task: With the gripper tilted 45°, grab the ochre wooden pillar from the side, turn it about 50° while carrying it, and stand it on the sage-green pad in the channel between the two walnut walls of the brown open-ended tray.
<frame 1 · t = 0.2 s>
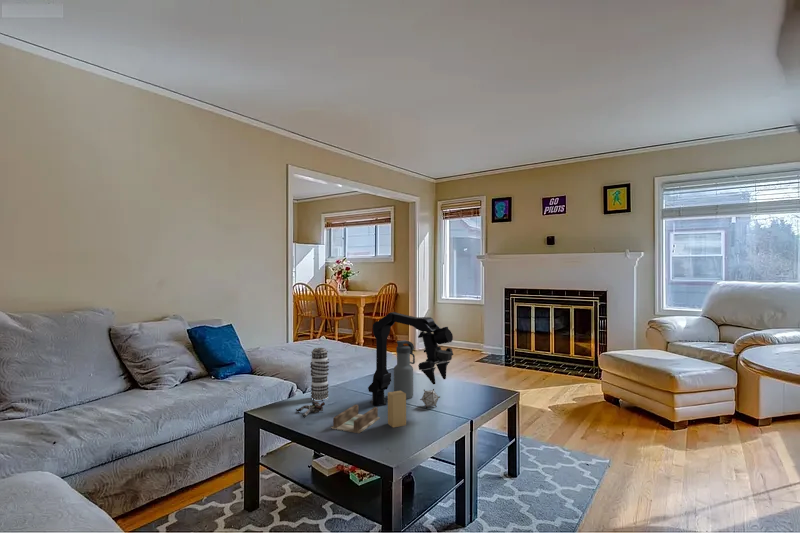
hand: (439, 381, 187), 15 cm above the table, tool pointing down, fingers open, 9 cm apart
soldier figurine: (310, 415, 193), on the table
water bottle: (404, 396, 218), on the table
game die: (430, 407, 201), on the table
brown open-ended tray: (356, 423, 180), on the table
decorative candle: (319, 399, 215), on the table
pillar: (396, 424, 179), on the table
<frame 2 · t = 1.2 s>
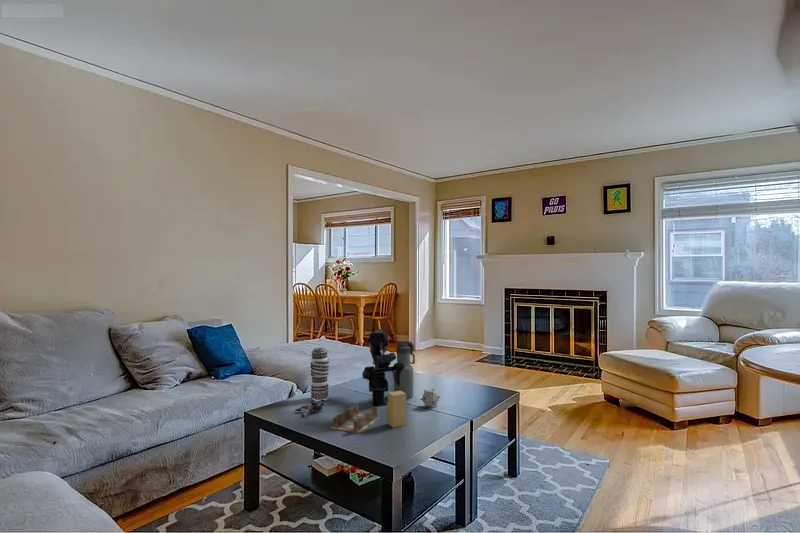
hand: (389, 387, 187), 13 cm above the table, tool tilted 45°, fingers open, 9 cm apart
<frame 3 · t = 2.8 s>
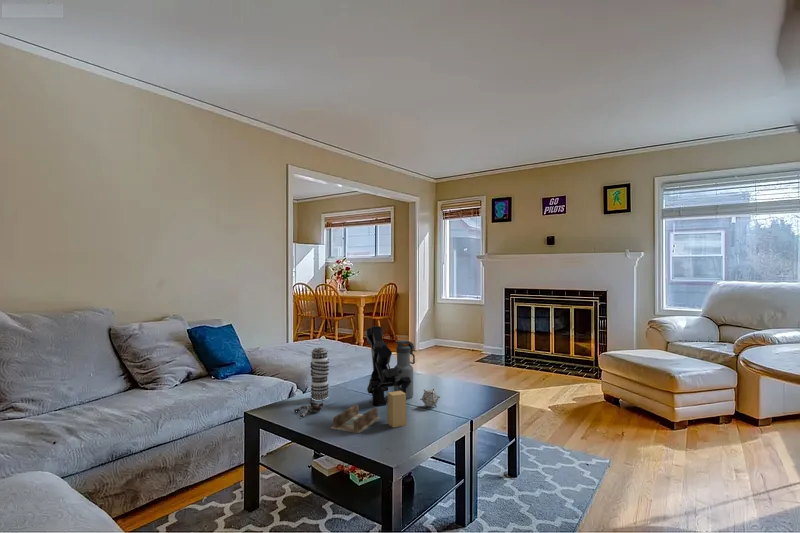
hand: (395, 402, 180), 9 cm above the table, tool tilted 45°, fingers open, 9 cm apart
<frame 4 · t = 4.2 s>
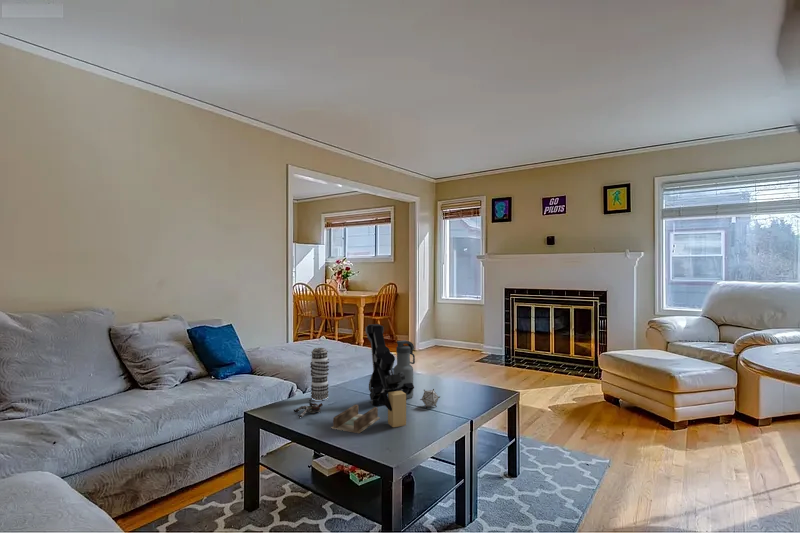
hand: (398, 409, 178), 7 cm above the table, tool tilted 45°, fingers closed on pillar, 6 cm apart
pillar: (396, 424, 179), on the table, touching gripper
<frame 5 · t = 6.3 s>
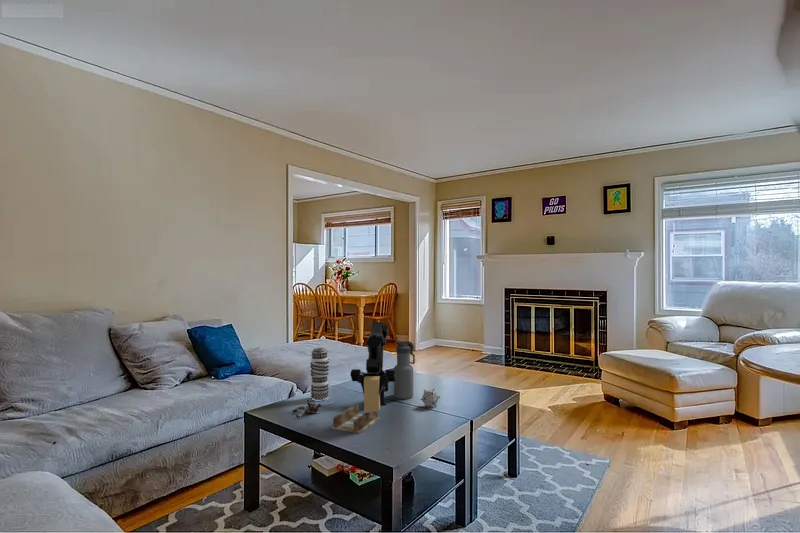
hand: (371, 393, 177), 13 cm above the table, tool tilted 45°, fingers closed on pillar, 6 cm apart
pillar: (372, 409, 179), point 7 cm above the table, touching gripper
when the fingers open (9 cm above the table, at t = 8.4 s): pillar drops 1 cm, resting on brown open-ended tray.
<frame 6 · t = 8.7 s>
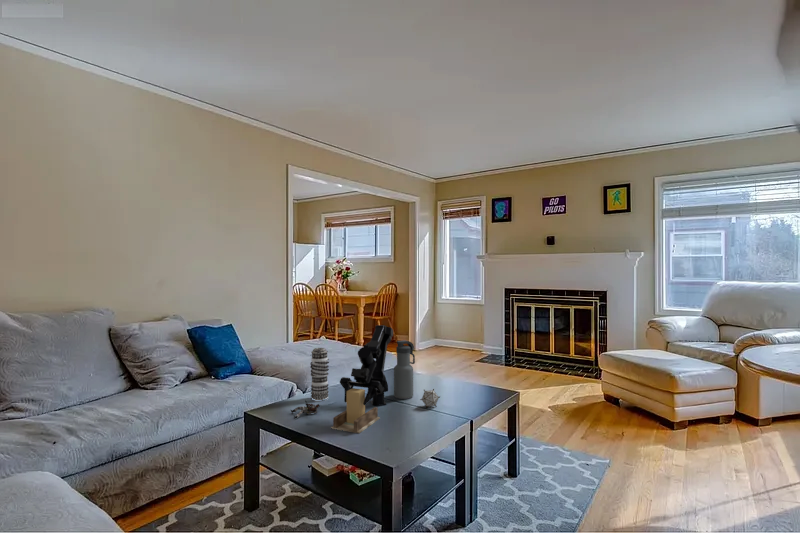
hand: (354, 403, 179), 9 cm above the table, tool tilted 45°, fingers open, 9 cm apart
pillar: (355, 421, 180), point 1 cm above the table, touching brown open-ended tray
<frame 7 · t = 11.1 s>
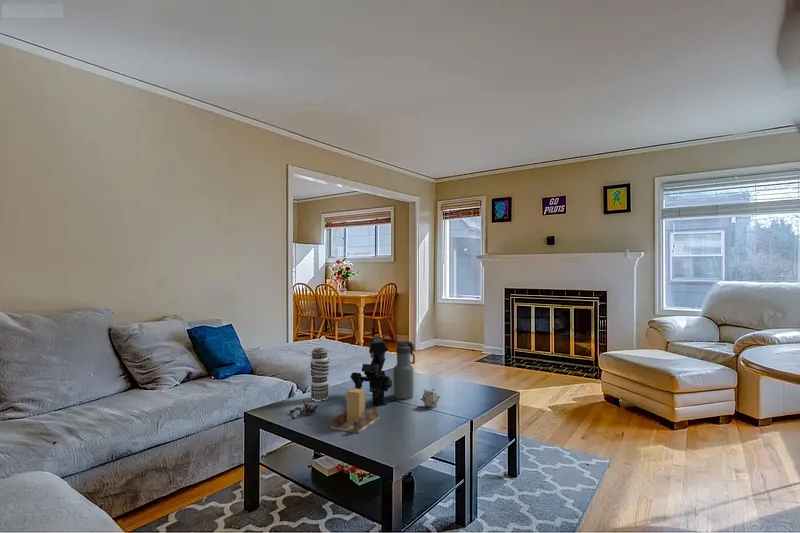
hand: (364, 397, 188), 9 cm above the table, tool tilted 45°, fingers open, 9 cm apart
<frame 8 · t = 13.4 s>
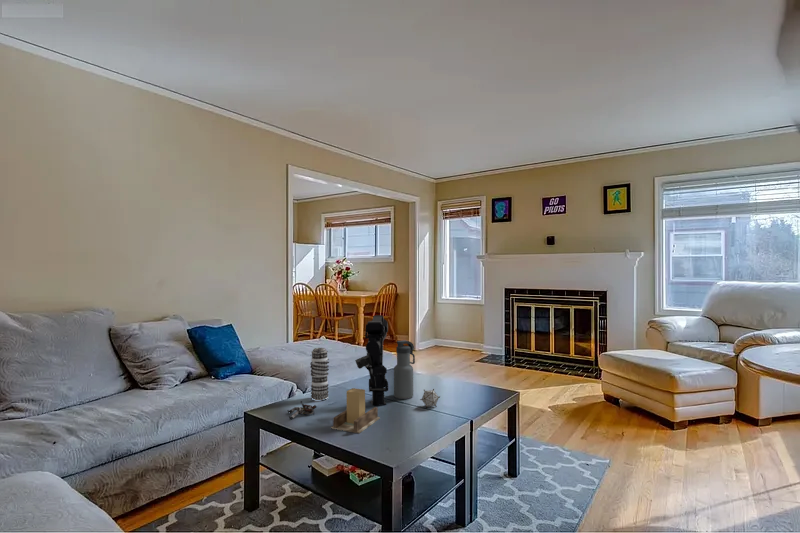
hand: (375, 385, 191), 13 cm above the table, tool pointing down, fingers open, 9 cm apart
at the end: pillar 0.1 cm off-centre on the brown open-ended tray, point 0.8 cm above the brown open-ended tray's base; pillar tilted 0°; the gripper is holding nothing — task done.
